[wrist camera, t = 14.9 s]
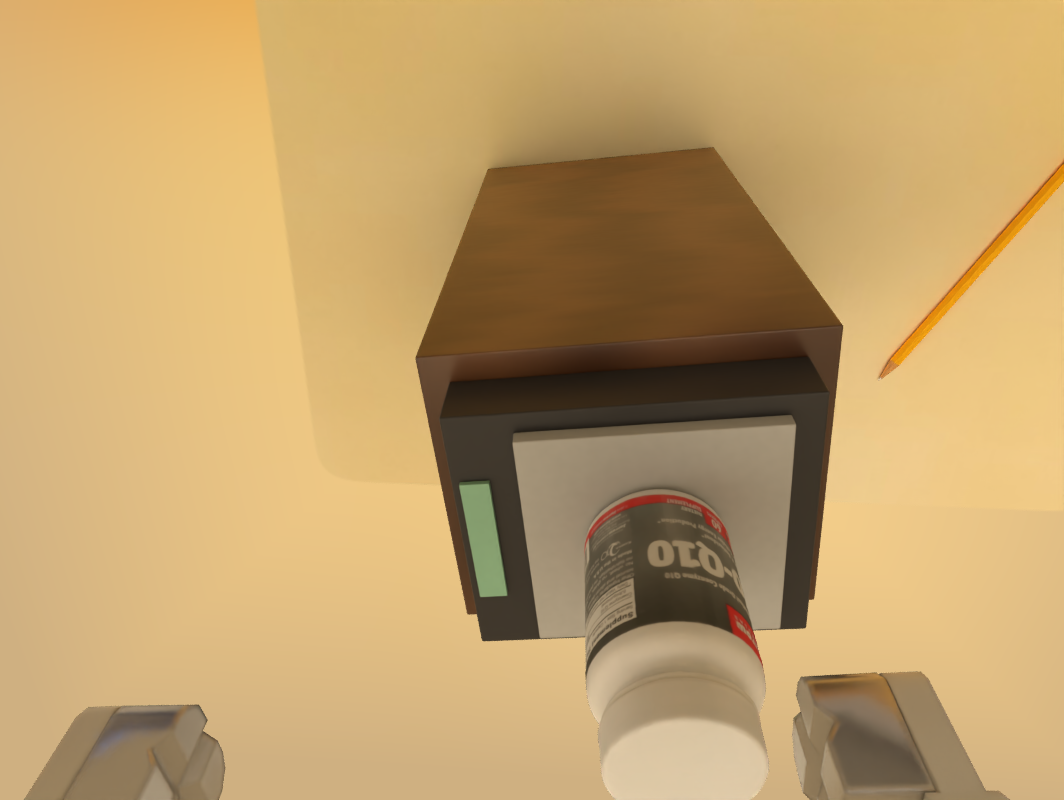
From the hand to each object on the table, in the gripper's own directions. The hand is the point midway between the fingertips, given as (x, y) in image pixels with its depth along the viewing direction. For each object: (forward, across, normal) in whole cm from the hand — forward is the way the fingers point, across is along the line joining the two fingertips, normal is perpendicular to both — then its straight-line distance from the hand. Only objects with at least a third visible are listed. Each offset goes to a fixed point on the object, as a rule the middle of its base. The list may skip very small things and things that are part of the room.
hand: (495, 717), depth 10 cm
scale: (+16, -3, +8) cm, 18 cm away
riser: (+42, -3, +9) cm, 43 cm away
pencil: (+42, -27, +12) cm, 51 cm away
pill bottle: (+13, -3, +8) cm, 16 cm away
